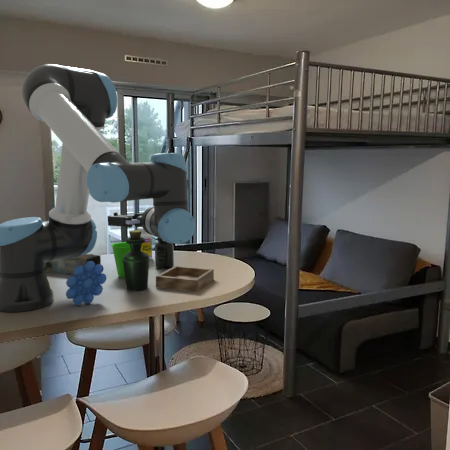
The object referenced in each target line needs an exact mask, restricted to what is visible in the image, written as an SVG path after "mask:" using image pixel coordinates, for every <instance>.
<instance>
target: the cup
mask: <svg viewBox="0 0 450 450" xmlns="http://www.w3.org/2000/svg"><path fill="white" fill-rule="evenodd" d="M110 246H111V247H112V252H113V256H114V262H115V267H116V272H117V276H118V277H119V278H123V279H125V274H124V266H123V258H124V256H125V255H126V254H127V253H129V252H131V248H130V245H129V244H128V243H126V241H122V242H121V241H120V242H115V243H112V244H111V245H110Z"/></svg>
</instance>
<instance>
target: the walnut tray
mask: <svg viewBox="0 0 450 450" xmlns="http://www.w3.org/2000/svg"><path fill="white" fill-rule="evenodd" d="M214 273H215V271H214V268H213V269H211V268H205V267H203V268H201V267H191V266H181V265H174V267H172V268H170V269H166V270H165V271H163V272H161V273H159V274H157V275H155V287H156V288H161V289H168V290H169V289H170V290H178V291H179V290H180V291H187V292H195V291H196V292H195V293H197V292H198V291H201V290H202V289H203V288H204V287H205V285H206V286H207V285H209V284H210V283H211V282H212V280H213V281H214V280H215V276H214V275H215V274H214ZM209 282H210V283H209Z"/></svg>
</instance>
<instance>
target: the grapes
mask: <svg viewBox="0 0 450 450" xmlns="http://www.w3.org/2000/svg"><path fill="white" fill-rule="evenodd" d="M103 272H104V266H103V264H102V263H101V264H97V265H96V266H95V263H94V262H93V261H88V262H87V263H86V264H85V266H84V267H83V266H77V267H76V268H75V269H74V272H73V273H74V275H71V276H69V277H68V278H66V282H65V284H66V286H67V287H68V289H67V290H66V291H65V292H66V293H65V296H66V299H68V300H70V299H71V300H72V303H73V305H75V306H79V305H82V303H83V304H85V305H89V304H91V303H92V302H93V301H94V298H95V297H96V296H99V295H101V294H102V292H103V290H104V289H103V284H105V283H106V281H107V275H106V274H105V273H103Z"/></svg>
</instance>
